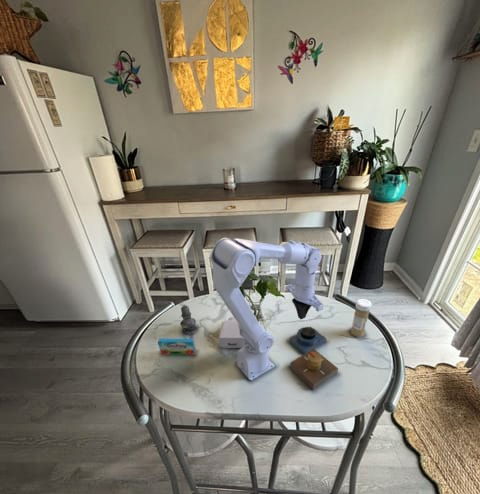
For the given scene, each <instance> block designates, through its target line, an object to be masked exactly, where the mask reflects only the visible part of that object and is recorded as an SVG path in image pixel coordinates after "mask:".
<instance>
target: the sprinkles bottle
mask: <svg viewBox="0 0 480 494" xmlns="http://www.w3.org/2000/svg"><path fill="white" fill-rule="evenodd" d="M371 308H372V302H371V301H370V300H368V299H366V298H359V299H358V300H356V303H355V310H354V313H353V319H352V323H351V330H350V334H351V335H353V336H354V337H356V338H362V337H364V335H365V333H366V332H365V331H366V328H367V325H368V319H369V316H370V315H369V314H370V310H371Z"/></svg>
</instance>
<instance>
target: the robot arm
mask: <svg viewBox="0 0 480 494" xmlns="http://www.w3.org/2000/svg"><path fill="white" fill-rule="evenodd" d="M322 257H323V255H322V254H321V251H320V250H319V248H317V247H315V246H312V245H311V244H308V243H305V242H303V241H300V242H298V243H297V242H296V241H295V240H293V239H292V240H291V239H289V240H288V241H283V242H281V243H280V244H278V245H277V244H271V243H266V242H261V241H255V240H250V239H245V238H244V239H242V238H235V237H234V238H233V239H231V238H229V237H223V238H220V239H218V240H217V241H216V242H215V243H214V245H213V248H212V250H211V253H210V255H209V259H210V261H211V264H212V283H213V288H214V290H215V291H216V293H217V294H218V295H219V297H220V298H221V300H222V301H223V303H224V305H225V306H226V308H227V309H228V310H229V312H230V313H231V315H232V317H233V316H234V318H235V319H236V321H237V322H238V327H239V329H240V330H239V333H240V335H241V336H242V337H243V338H244V342H245V344H244V346H243V347H242V348H239V349H238V350H237V351H236V358H237V363H236V366H237V367H238V368H239V369H240V370H241V372H242V374H244V375H245V376H246V378H247V379H248V380H249V381H253V380H255V379H256V378H258V377H260V376H261V375H263V374H265V373H267V372H268V371H270V370H272V369H273V368H275V364H274V363H273V362H272V361H271V360H270V357H269V356H270V353H269V352H270V350H271V348H272V347H273V345H274V342H275V339H274V336H273V335H272V334H270V333H269V332H268V331H266V329H265V328H264V327H263V326H262V325H261V324H260V323H259V320H258V319H257V317H256V315H255V314H254V312H253V309H252V308H251V307H250V305H249V304H248V301H247V300H246V297H245V296H244V295H243V293H242V291H241V289H240V287H241V286H242V285H243V283H244V282H245V280H246V279H247V277H248V276H249V274H250V273H251V272H252V270H253V268H254V267H257V266H258V264H259V261H260V259H268V260H269V259H272V260H275V259H276V260H277V261H278V262H279V263H280V264H284V265H295V274H294V275H295V276H294V277H295V278H294V279H295V280H294V284H292V283H289V284H286V286H285V291H286V292H290V294H291V295H292V297H293V298H292V300H291V302H292V304H293V305H294V308H295V310H296V314H297V317H298V319H299V320H303V319H305V318H306V317H307V315H308V312H309V310H310V309H311V307H313V308H314V309H315V311H316V312H319V313H320V312H321V311H322V310H323V309H324V303H322V302H321V301H320V300H319V298H318V297H317V296H316V294H315V293H316V291H315V281H316V272H317V271H318V269H319V264H320V263H321V261H322Z"/></svg>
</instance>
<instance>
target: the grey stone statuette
mask: <svg viewBox="0 0 480 494" xmlns="http://www.w3.org/2000/svg"><path fill="white" fill-rule="evenodd" d="M180 311H181V318H182V320H181V321H180V323H179V325H180V327H181V328H182V333H183V334H184V335H192V334H195V333H196V332H197V329H198V328H197V327H196V325H197V324H196V323H197V320H196V319H195V318H194V317H192V312H191V311H190V306H188V305H186V304H183V306H181V307H180Z"/></svg>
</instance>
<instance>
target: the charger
mask: <svg viewBox="0 0 480 494" xmlns="http://www.w3.org/2000/svg"><path fill="white" fill-rule="evenodd" d="M239 330H240V329H239V327H238V322H237V321H236V319H235V318H234V316H233V315H232V316H230V317H229V318H228V319H227V320H226V319H225V320H223V321H222V322H221V326H220V331H219V334H218V345H219V347H220V348H223V349H241V348H242V347H243V346H244V344H245V342H244V338H243V337H242V336H241V335H240V333H239Z"/></svg>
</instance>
